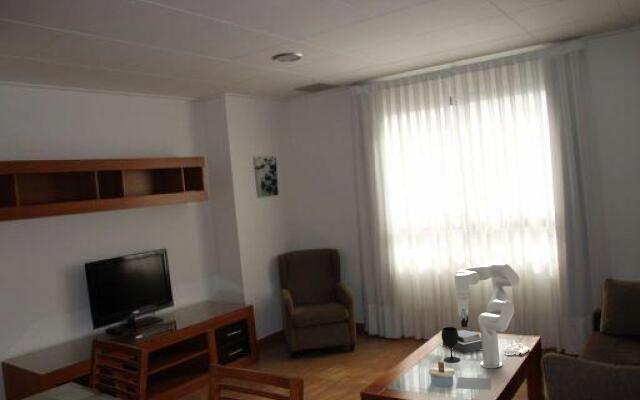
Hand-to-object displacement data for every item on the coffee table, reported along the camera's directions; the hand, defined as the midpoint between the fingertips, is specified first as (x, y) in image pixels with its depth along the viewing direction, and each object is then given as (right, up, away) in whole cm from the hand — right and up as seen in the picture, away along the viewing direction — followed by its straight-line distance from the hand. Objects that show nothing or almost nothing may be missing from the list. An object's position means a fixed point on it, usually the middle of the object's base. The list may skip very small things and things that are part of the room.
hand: (465, 324), depth 303 cm
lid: (-15, -26, -6) cm, 30 cm away
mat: (+2, -31, -11) cm, 32 cm away
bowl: (-14, -32, -6) cm, 35 cm away
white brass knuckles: (+42, -26, +35) cm, 61 cm away
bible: (+14, -28, +54) cm, 63 cm away
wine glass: (0, -30, +30) cm, 42 cm away
